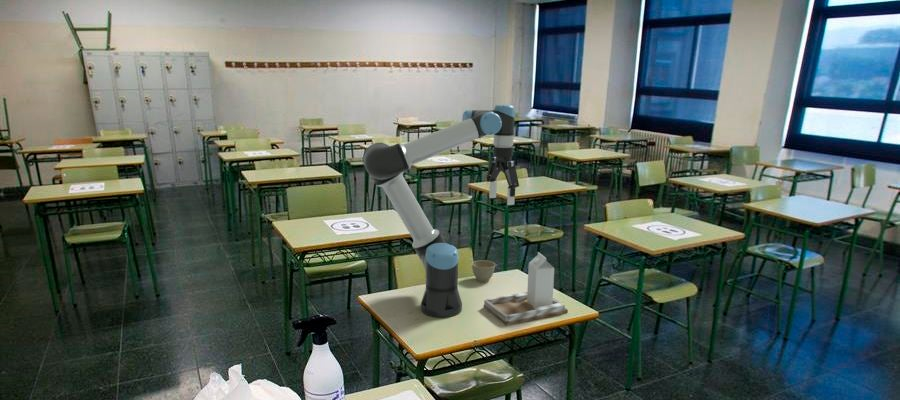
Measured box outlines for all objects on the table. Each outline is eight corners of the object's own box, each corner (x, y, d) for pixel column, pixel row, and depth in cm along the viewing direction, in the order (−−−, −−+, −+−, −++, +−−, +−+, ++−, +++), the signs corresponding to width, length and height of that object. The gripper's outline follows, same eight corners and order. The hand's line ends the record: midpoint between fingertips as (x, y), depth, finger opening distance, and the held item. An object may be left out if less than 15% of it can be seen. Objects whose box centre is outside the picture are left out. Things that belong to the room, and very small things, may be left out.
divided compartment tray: (505, 325, 177) (506, 316, 176) (483, 307, 191) (483, 299, 191) (567, 312, 188) (568, 304, 187) (541, 296, 202) (542, 289, 201)
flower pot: (493, 285, 214) (493, 268, 212) (469, 283, 215) (469, 266, 214) (496, 276, 223) (496, 261, 222) (473, 274, 225) (473, 259, 224)
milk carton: (544, 299, 196) (546, 251, 192) (552, 306, 190) (555, 257, 186) (526, 301, 195) (529, 252, 191) (534, 308, 188) (536, 258, 184)
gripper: (530, 149, 186) (527, 207, 191) (495, 142, 208) (493, 194, 213) (512, 150, 183) (510, 208, 188) (478, 143, 205) (477, 195, 210)
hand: (501, 201), depth 200 cm, fingers open, 13 cm apart
